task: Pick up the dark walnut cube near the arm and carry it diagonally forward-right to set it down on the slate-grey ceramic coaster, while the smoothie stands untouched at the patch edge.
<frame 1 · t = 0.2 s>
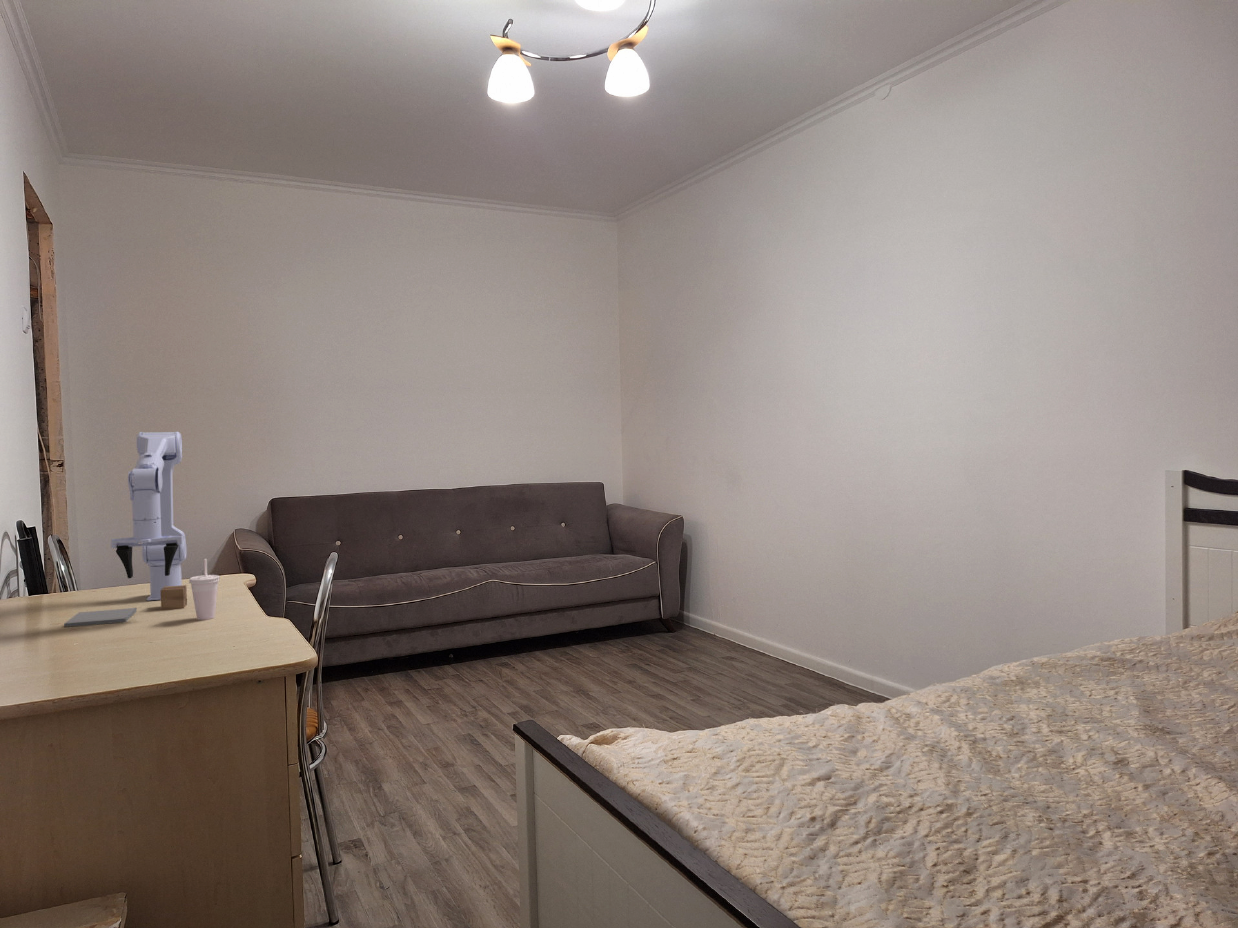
hand: (149, 576, 188), 10 cm above the table, fingers open, 7 cm apart
coaster: (101, 618, 188), on the table
smoothie: (205, 618, 187), on the table
walnut cube: (174, 607, 200), on the table
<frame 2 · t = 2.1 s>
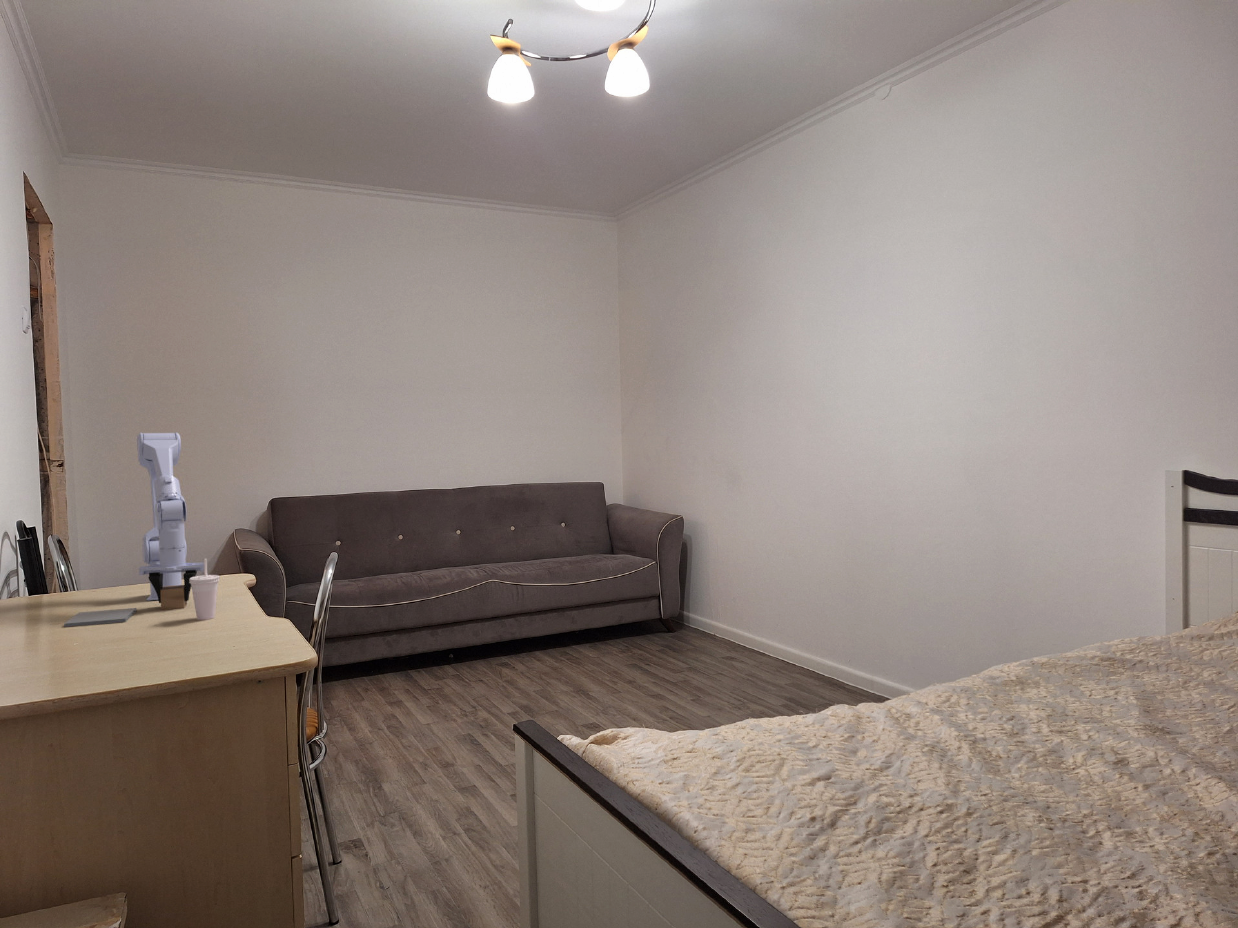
hand: (174, 601, 199), 1 cm above the table, fingers closed on walnut cube, 5 cm apart
walnut cube: (174, 606, 200), on the table, touching gripper
everything else where it was.
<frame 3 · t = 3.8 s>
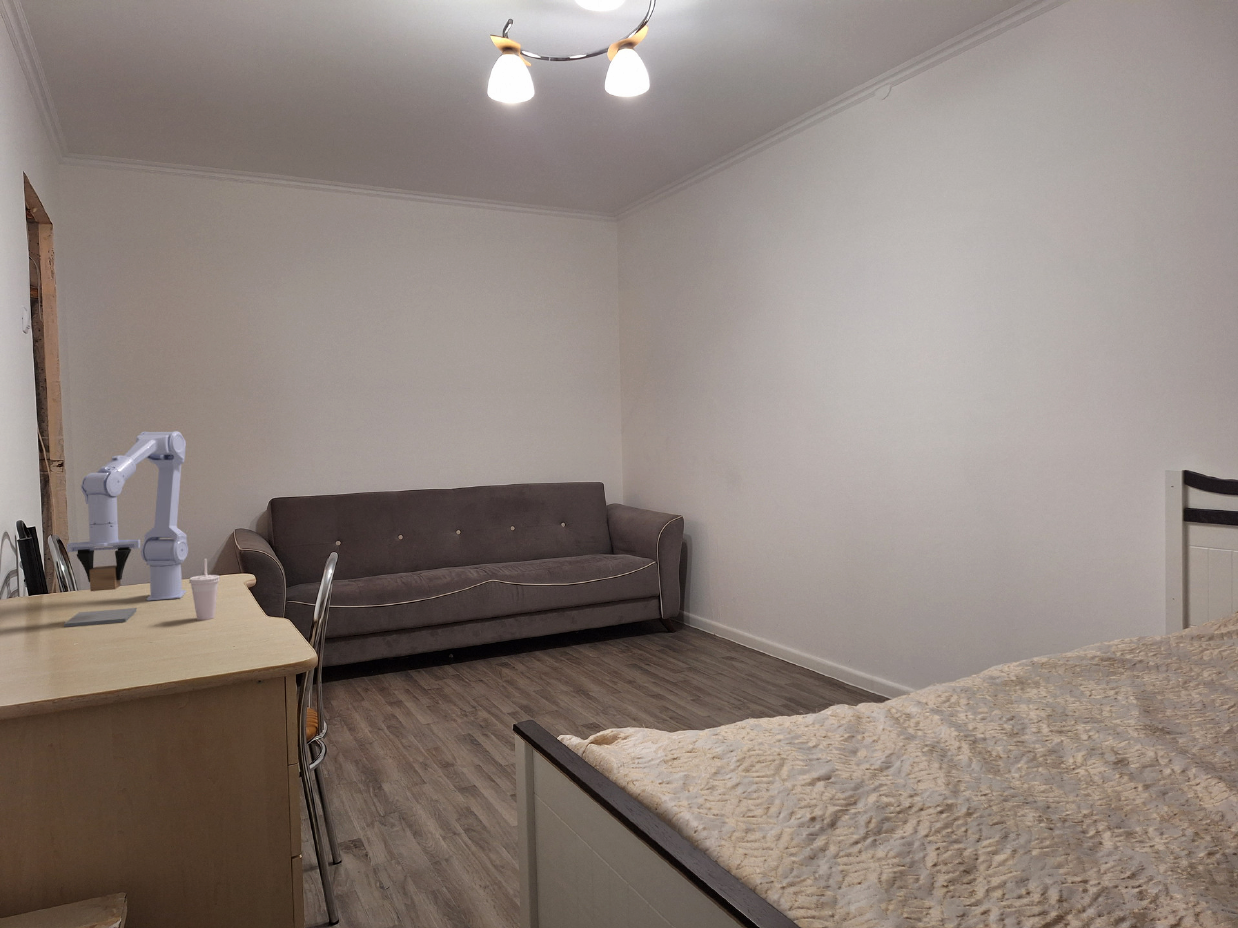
hand: (105, 580, 188), 9 cm above the table, fingers closed on walnut cube, 5 cm apart
walnut cube: (105, 588, 188), point 7 cm above the table, touching gripper
everything else where it was.
when the fingers open (3 cm above the table, at t = 5.5 s): walnut cube stays where it is, resting on coaster.
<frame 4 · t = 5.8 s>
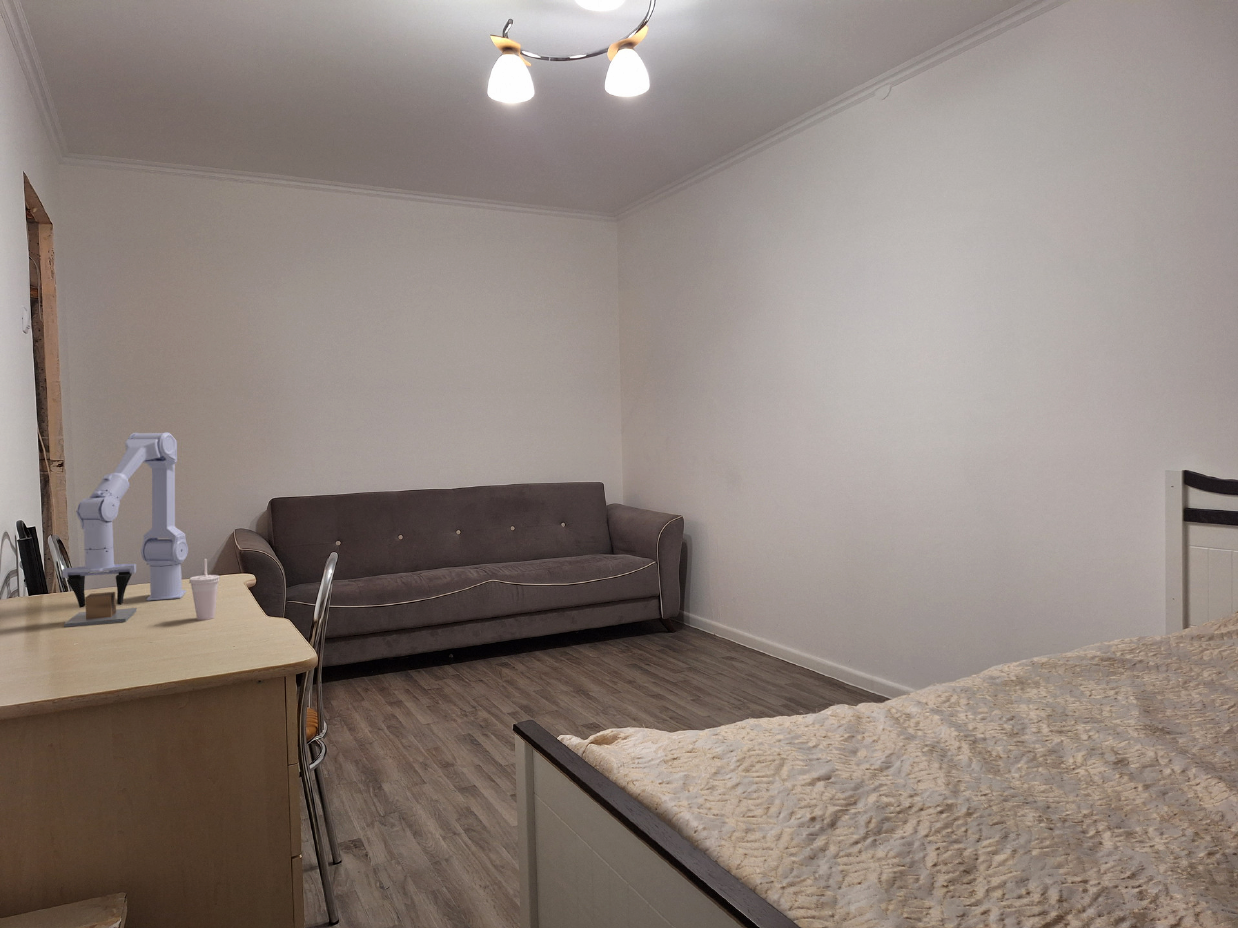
hand: (101, 605, 187), 3 cm above the table, fingers open, 7 cm apart
walnut cube: (101, 615, 187), point 1 cm above the table, touching coaster
everything else where it was.
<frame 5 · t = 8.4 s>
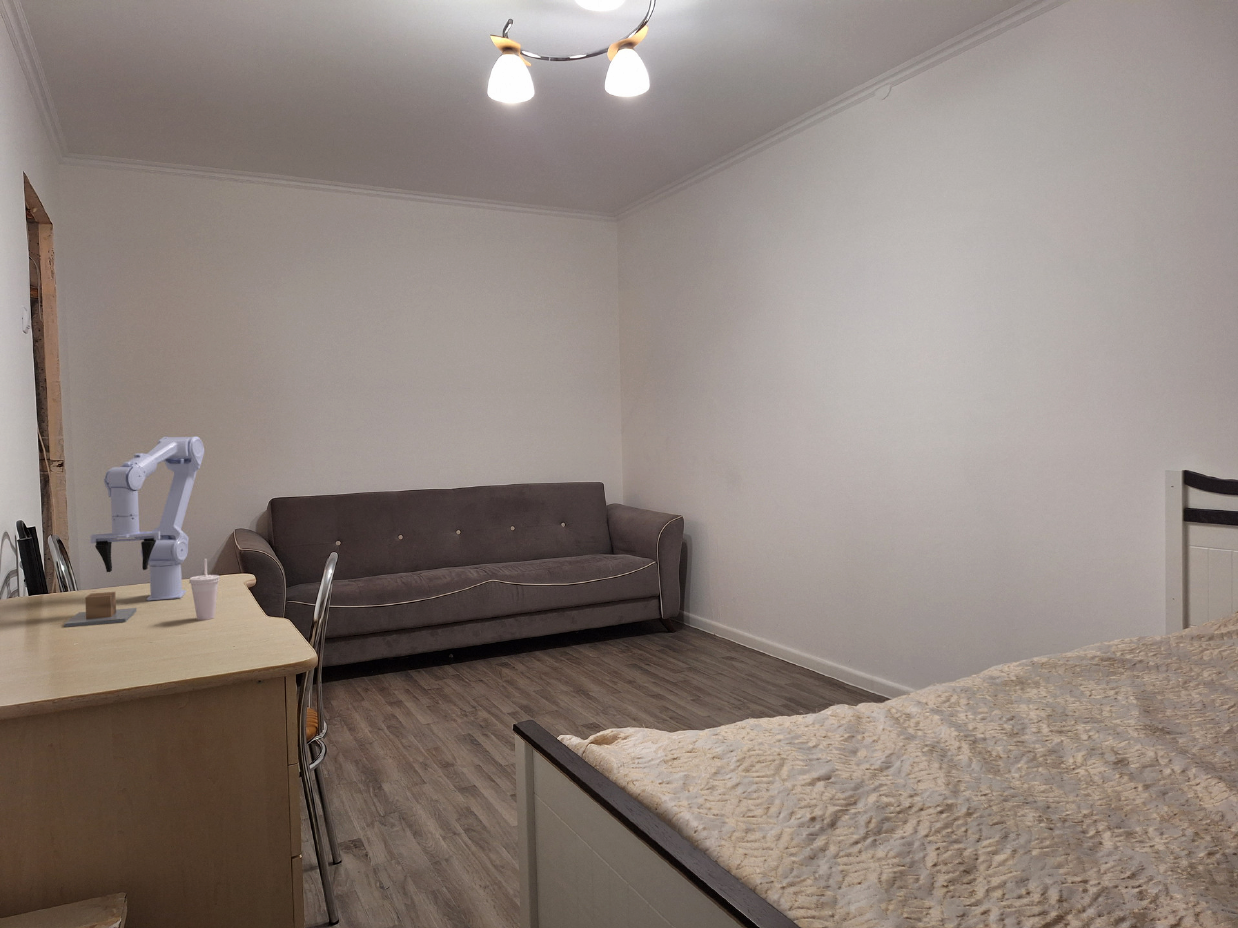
hand: (127, 570, 196), 10 cm above the table, fingers open, 7 cm apart
nothing on the table moved.
at the end: walnut cube inside the target area on the coaster (0.1 cm from its centre), point 0.8 cm above the coaster's base; walnut cube tilted 0°; the gripper is holding nothing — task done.
